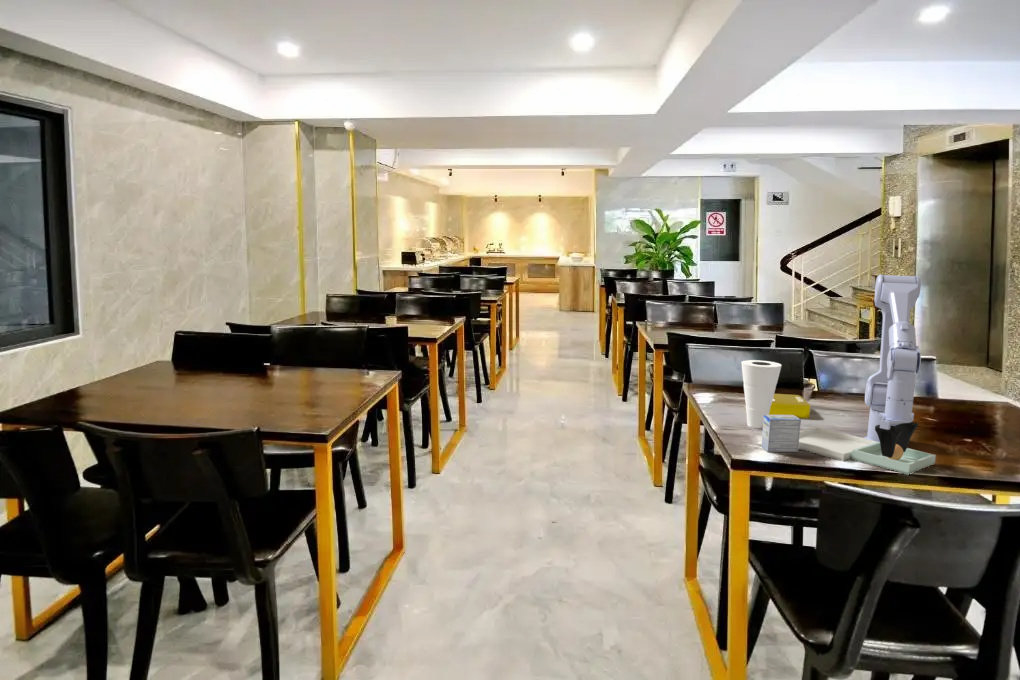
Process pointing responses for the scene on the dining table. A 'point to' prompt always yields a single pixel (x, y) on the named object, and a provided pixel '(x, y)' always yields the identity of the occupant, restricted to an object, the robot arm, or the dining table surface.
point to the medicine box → (781, 433)
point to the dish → (906, 464)
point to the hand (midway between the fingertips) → (893, 453)
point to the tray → (830, 442)
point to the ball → (897, 453)
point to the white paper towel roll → (759, 389)
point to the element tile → (790, 406)
